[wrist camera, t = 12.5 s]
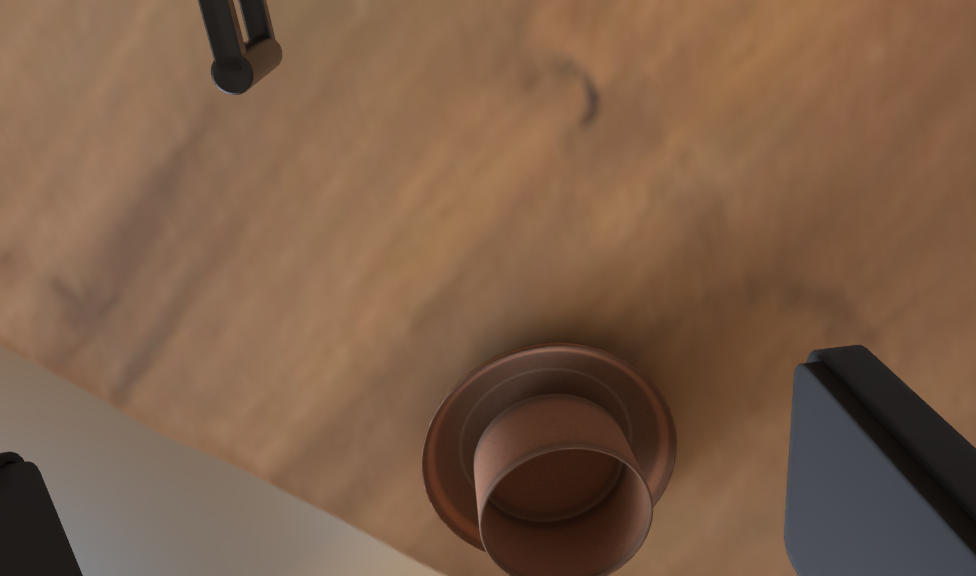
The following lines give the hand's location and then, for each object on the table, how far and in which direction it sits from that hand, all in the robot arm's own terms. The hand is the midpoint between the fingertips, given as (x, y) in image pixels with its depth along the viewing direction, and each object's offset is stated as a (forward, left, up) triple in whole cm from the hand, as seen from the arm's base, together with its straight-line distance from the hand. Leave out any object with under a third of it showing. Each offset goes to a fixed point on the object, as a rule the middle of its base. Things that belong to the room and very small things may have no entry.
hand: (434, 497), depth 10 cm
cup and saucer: (+7, +15, -24) cm, 29 cm away
